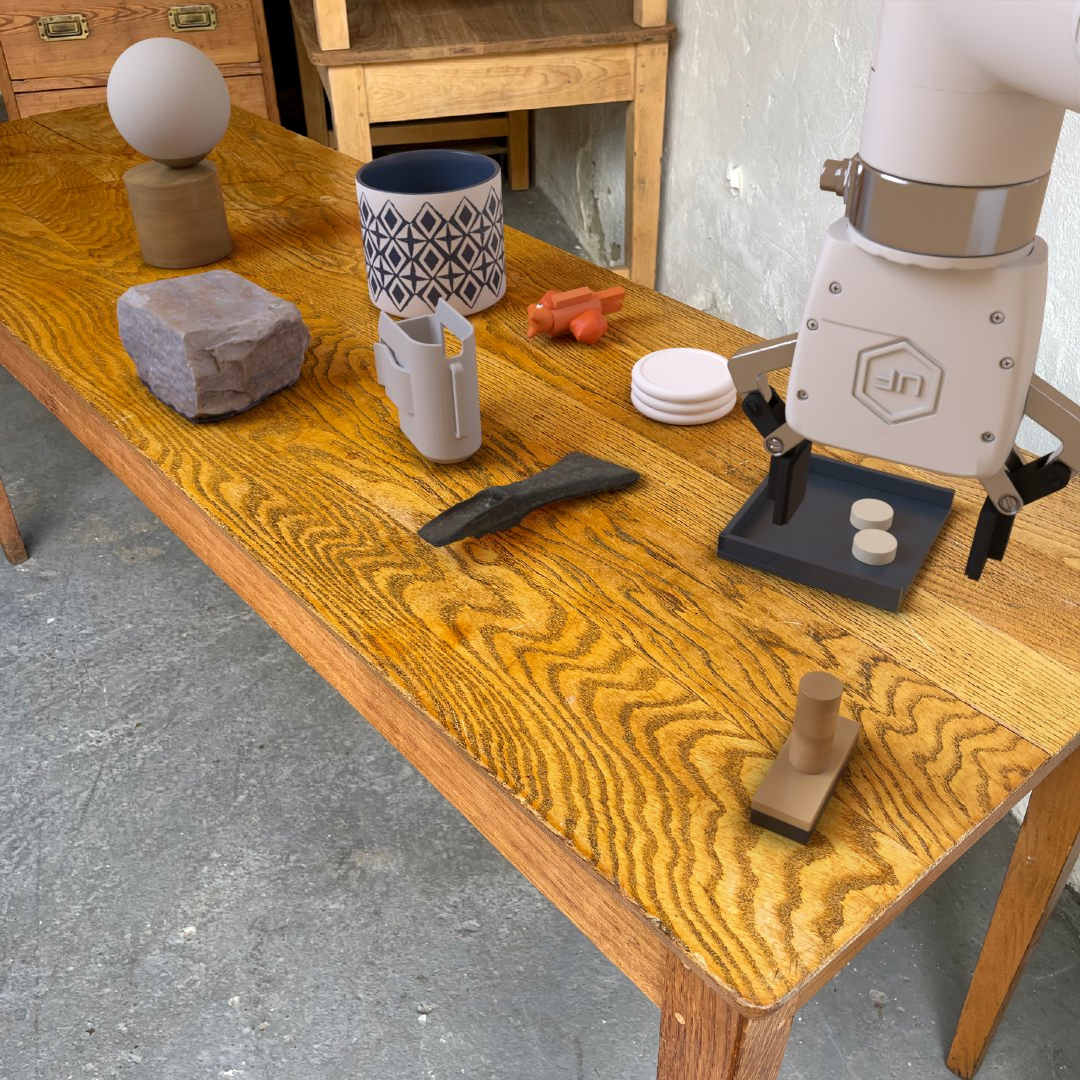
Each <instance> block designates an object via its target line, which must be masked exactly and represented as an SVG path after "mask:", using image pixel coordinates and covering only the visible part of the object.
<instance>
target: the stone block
mask: <svg viewBox="0 0 1080 1080" xmlns="http://www.w3.org/2000/svg"><path fill="white" fill-rule="evenodd" d="M116 315H117V321H118V322H117V323H118V334H119V337H120V341H121V345H122V347H123V348H124V350H125V352H126V354H127V355H128V357H129V358H130V360H131V361H132V362H133V364H134V366H135V369H136V374H137V378H138V380H140V381H139V383H141V385H143V386H146V387H147V388H148V392H149V393H150V394H151V395H152V396H154V397H155V398H156V399H157V401H159V402H161V403H163V404H165V406H167V407H168V408H171V409H172V410H173V411H174V412H175V413H177V414H178V415H180V416H182V417H184V418H185V419H187V420H189V421H191V422H192V423H194V424H196V425H197V424H199V423H209V422H218V421H221V420H222V421H223V420H226V419H228V418H230V417H233V416H235V415H236V414H241V413H243V412H246V411H248V410H250V409H252V408H253V407H255V406H258V405H259V404H260V403H261V402H262V401H263V400H265V399H267V398H269V397H270V395H273V394H275V393H277V392H280V391H282V389H284V388H286V387H289V388H290V387H291V386H292V385H293V384H295V383H296V382H297V381H299V379H300V377H301V376H300V374H301V368H302V366H303V364H304V362H305V352H306V351H307V350H308V348H309V346H310V345H311V341H312V334H311V332H310V330H311V329H310V328H309V327H308V325H307V324H306V322H304V321H303V315H302V310H300V309H299V308H298V307H297V305H296V304H295V303H293V302H290V301H287V300H285V299H284V298H283V297H279V296H277V295H274V294H272V293H271V292H270V291H269V290H267V289H265V288H263V287H262V286H259V285H258V284H256V283H254V282H252V281H251V280H248V279H247V278H244V277H243V276H241V275H239V274H237V273H235V272H233V271H231V270H229V269H214V270H210V271H209V270H208V271H206V272H201V273H195V274H190V275H187V276H179V277H173V278H168V279H167V278H165V279H161V280H154V281H151V282H149V283H144V284H138V285H133V286H130V287H129V288H128V290H127V291H125V292H124V293H122V295H121V296H120V297H118V298H117V302H116Z"/></svg>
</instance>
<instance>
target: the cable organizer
mask: <svg viewBox="0 0 1080 1080" xmlns="http://www.w3.org/2000/svg"><path fill="white" fill-rule="evenodd" d="M378 318H379V319H378V324H377V332H378V340H379V342H374V343H373V345H372V346H373V351H374V353H373V354H374V360H375V362H374V363H375V369H376V376H377V384H378V385H380V386H384V388H385V390H384V391H385V395H386V396H387V398H388V399H389V400H390V401H391V402H392V403H393V404H394V406H395V407H396V408H397V409H398V418H399V427H400V430H401V432H402V433H403V434H404V435H405V436H406V437H407V439H408V440H409V441H410V442H411V443H412V445H413V446H414V447H415V449H417V450H418V452H420V453H421V455H422V456H423V457H424V458H426V459H427V460H428V461H430V462H433V463H437V464H443V465H449V464H457V463H460V462H464V461H465V460H468V459H469V458H470V457H472V456H473V455H474V454H475V453H476V452H477V451H478V450H479V449H480V448H481V445H482V442H483V439H482V438H483V437H482V421H481V407H480V394H479V393H480V392H479V375H478V364H477V363H478V362H477V349H476V348H477V346H476V334H475V333H476V332H475V327H474V325H473V324H472V322H470V321H469V320H468V319H467V318H466V317H465V316H464V317H463V316H462V315H461V314H460V313H459V312H457V311H456V310H455V309H454V308H453V307H452V306H451V305H449V304H448V303H447V302H446V301H445V300H444V299H443V298H439V300H438V304H437V308H436V312H435V314H433V315H423V316H419V317H414V318H410V319H406V318H405V319H402V320H398V321H397V320H396V321H395V320H393V319H392V317H390V316H389V315H388V313H386V312H384V311H382V310H380V313H379V317H378ZM445 328H446V329H447V330H448V331H449V332H451V333H452V335H454V336H455V337H456V338H457V339H458V340H459V341H461V351H460V353H459V354H457V355H454V356H448V357H447V352H446V351H447V350H446V339H445V338H446V337H445Z"/></svg>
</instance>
